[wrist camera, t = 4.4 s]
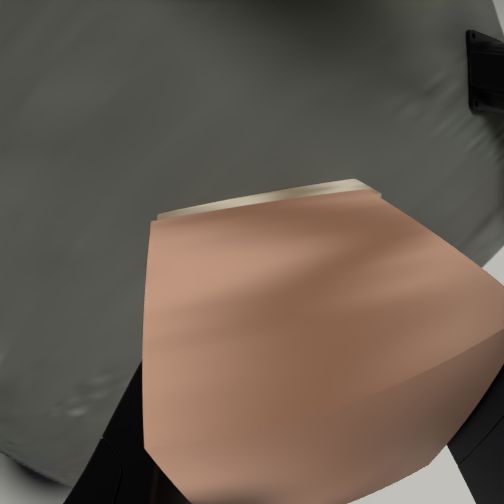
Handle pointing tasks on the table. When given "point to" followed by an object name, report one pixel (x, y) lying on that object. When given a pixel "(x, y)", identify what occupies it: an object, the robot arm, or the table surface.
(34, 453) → the table surface
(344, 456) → the terracotta cube
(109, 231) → the table surface
